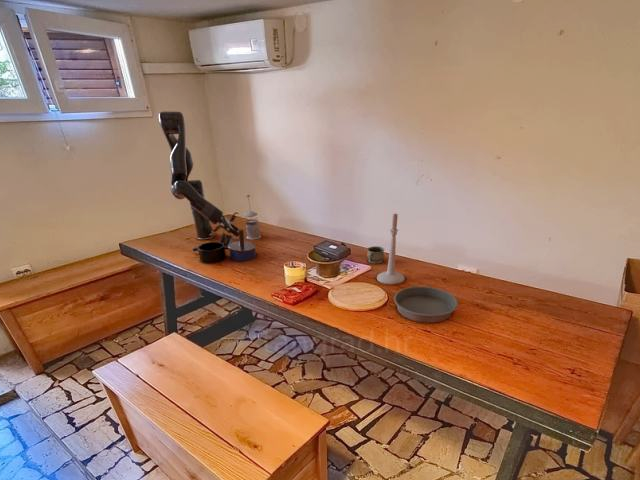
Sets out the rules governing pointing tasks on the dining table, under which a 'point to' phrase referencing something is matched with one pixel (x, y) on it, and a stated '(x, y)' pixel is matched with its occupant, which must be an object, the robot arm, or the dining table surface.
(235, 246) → the lid
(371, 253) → the vessel
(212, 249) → the pot
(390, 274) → the candlestick
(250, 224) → the french press
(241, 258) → the blue round bowl
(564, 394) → the dining table surface
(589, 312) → the dining table surface
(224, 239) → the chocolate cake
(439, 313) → the cake pan
